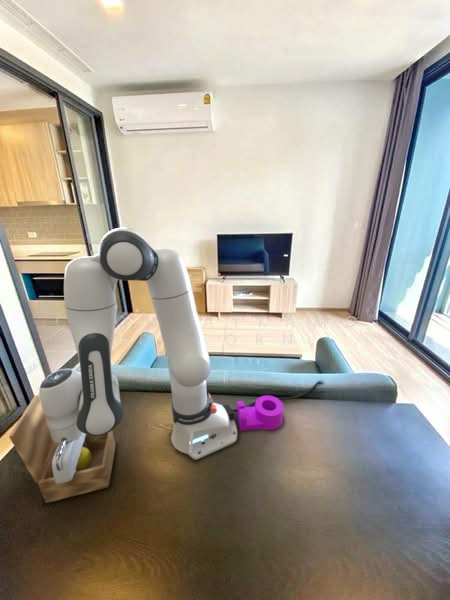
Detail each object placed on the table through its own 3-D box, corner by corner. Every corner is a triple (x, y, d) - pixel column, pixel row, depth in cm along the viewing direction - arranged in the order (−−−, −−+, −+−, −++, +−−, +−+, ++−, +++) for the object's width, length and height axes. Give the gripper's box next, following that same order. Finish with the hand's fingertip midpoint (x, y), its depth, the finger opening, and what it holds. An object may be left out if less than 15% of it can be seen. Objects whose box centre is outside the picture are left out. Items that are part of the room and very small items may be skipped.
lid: (37, 395, 70) (34, 395, 70) (12, 435, 57) (8, 436, 57) (57, 437, 76) (54, 438, 76) (39, 481, 63) (35, 482, 63)
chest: (115, 445, 82) (111, 427, 80) (108, 487, 70) (103, 467, 67) (62, 457, 79) (56, 438, 76) (45, 503, 66) (37, 483, 64)
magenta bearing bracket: (277, 407, 97) (278, 394, 95) (285, 428, 88) (286, 414, 86) (236, 410, 96) (236, 397, 93) (240, 432, 86) (240, 418, 84)
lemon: (85, 480, 71) (79, 460, 68) (68, 476, 72) (61, 457, 69) (98, 462, 76) (93, 443, 73) (82, 458, 77) (76, 439, 74)
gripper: (70, 456, 59) (80, 495, 64) (90, 397, 78) (97, 430, 82) (39, 462, 58) (53, 502, 62) (67, 400, 76) (76, 434, 81)
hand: (78, 461), depth 73 cm, fingers closed on chest, 7 cm apart
